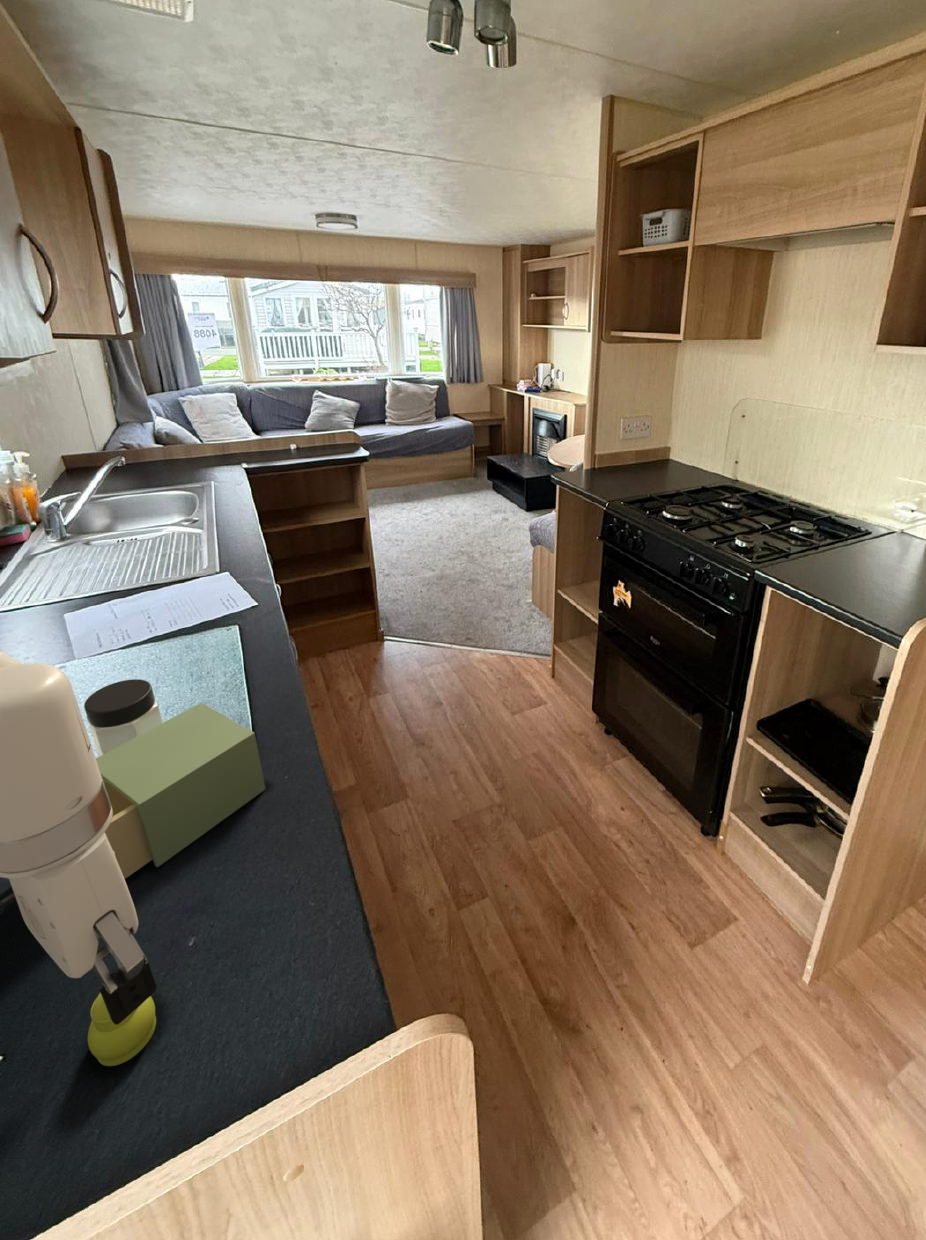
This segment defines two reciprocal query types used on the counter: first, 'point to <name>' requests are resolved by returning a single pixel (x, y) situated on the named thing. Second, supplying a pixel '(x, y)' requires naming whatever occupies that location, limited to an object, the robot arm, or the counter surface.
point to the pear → (120, 1032)
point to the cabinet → (185, 776)
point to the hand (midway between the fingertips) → (106, 973)
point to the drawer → (119, 837)
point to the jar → (121, 713)
